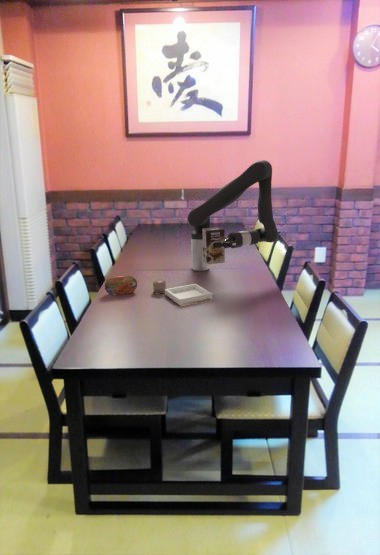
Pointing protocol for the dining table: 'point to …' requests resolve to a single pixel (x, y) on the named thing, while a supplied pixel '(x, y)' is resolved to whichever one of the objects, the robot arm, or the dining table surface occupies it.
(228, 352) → the dining table surface
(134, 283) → the tin
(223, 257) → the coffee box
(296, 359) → the dining table surface
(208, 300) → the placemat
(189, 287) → the dish
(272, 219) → the robot arm
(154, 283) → the rounded taupe cylinder
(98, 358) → the dining table surface
